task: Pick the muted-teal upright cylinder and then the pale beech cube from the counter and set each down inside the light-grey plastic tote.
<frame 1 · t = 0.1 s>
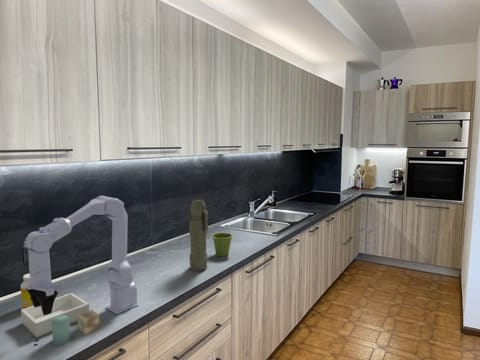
hand: (42, 310, 109), 10 cm above the countertop, fingers open, 7 cm apart
beech cube: (88, 328, 117), on the countertop
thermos: (198, 268, 173), on the countertop
supplement bottle: (32, 307, 131), on the countertop
tote: (56, 320, 122), on the countertop
teal cylinder: (61, 339, 110), on the countertop
plant pot: (222, 254, 193), on the countertop
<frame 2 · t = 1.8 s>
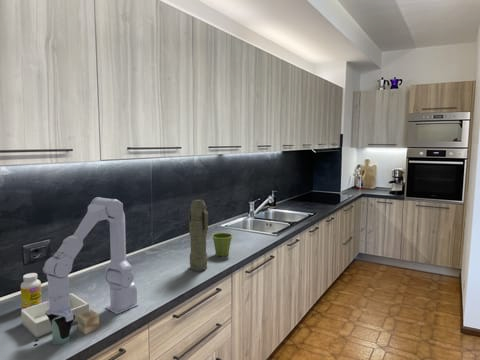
hand: (61, 334, 110), 2 cm above the countertop, fingers closed on teal cylinder, 5 cm apart
teal cylinder: (61, 339, 110), on the countertop, touching gripper
everything else where it was.
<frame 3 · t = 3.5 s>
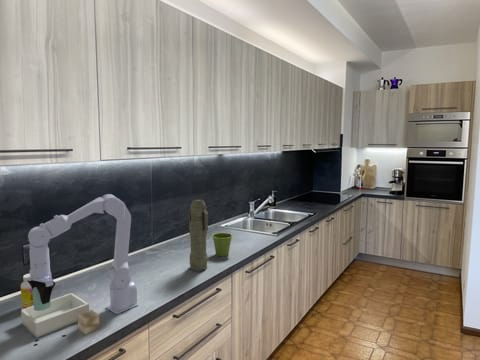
hand: (42, 300, 117), 9 cm above the countertop, fingers closed on teal cylinder, 5 cm apart
teal cylinder: (42, 307, 117), point 7 cm above the countertop, touching gripper
everything else where it was.
when the fingers open (4 cm above the countertop, at t = 5.2 s): teal cylinder stays where it is, resting on tote.
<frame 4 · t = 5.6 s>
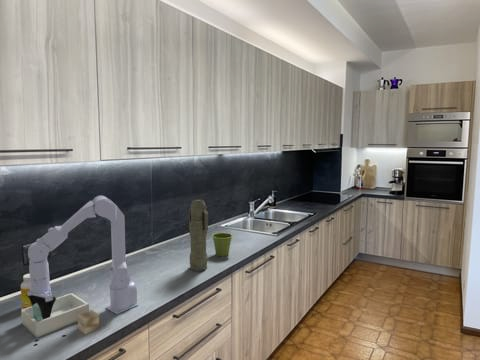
hand: (42, 314, 118), 4 cm above the countertop, fingers open, 7 cm apart
teal cylinder: (42, 323, 118), point 1 cm above the countertop, touching tote
everything else where it was.
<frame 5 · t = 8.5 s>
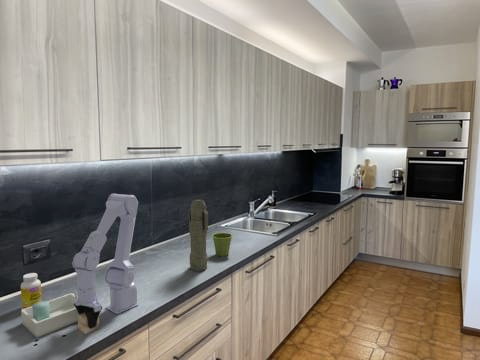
hand: (88, 324, 117), 1 cm above the countertop, fingers closed on beech cube, 5 cm apart
beech cube: (88, 328, 117), on the countertop, touching gripper
everything else where it was.
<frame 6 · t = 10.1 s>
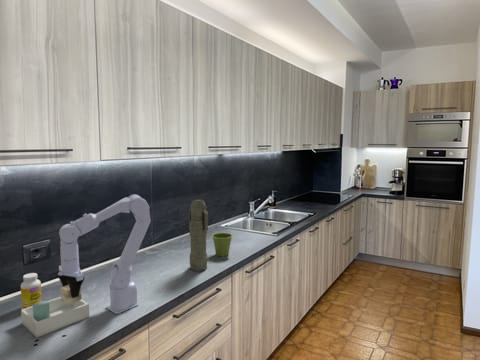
hand: (71, 294, 123), 9 cm above the countertop, fingers closed on beech cube, 5 cm apart
beech cube: (71, 299, 122), point 7 cm above the countertop, touching gripper
everything else where it was.
when the fingers open (4 cm above the countertop, at t = 11.8 s): beech cube drops 1 cm, resting on tote.
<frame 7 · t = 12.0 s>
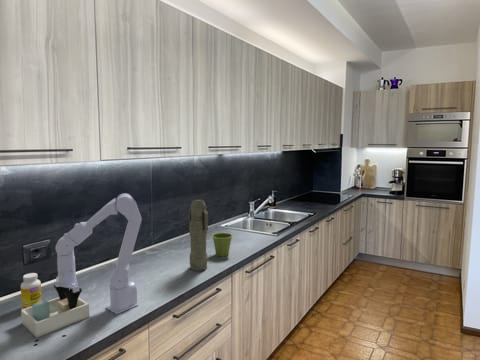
hand: (68, 305, 125), 4 cm above the countertop, fingers open, 6 cm apart
beech cube: (68, 313, 125), point 1 cm above the countertop, touching tote
everything else where it was.
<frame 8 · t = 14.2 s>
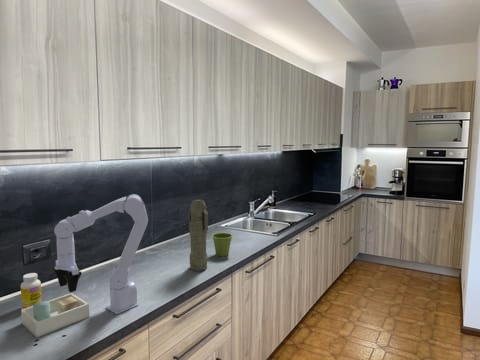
hand: (67, 288, 125), 10 cm above the countertop, fingers open, 7 cm apart
nothing on the countertop moved.
at the end: teal cylinder inside the target area on the tote (4.6 cm from its centre), point 0.7 cm above the tote's base; beech cube inside the target area on the tote (4.2 cm from its centre), point 0.6 cm above the tote's base; the gripper is holding nothing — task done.
